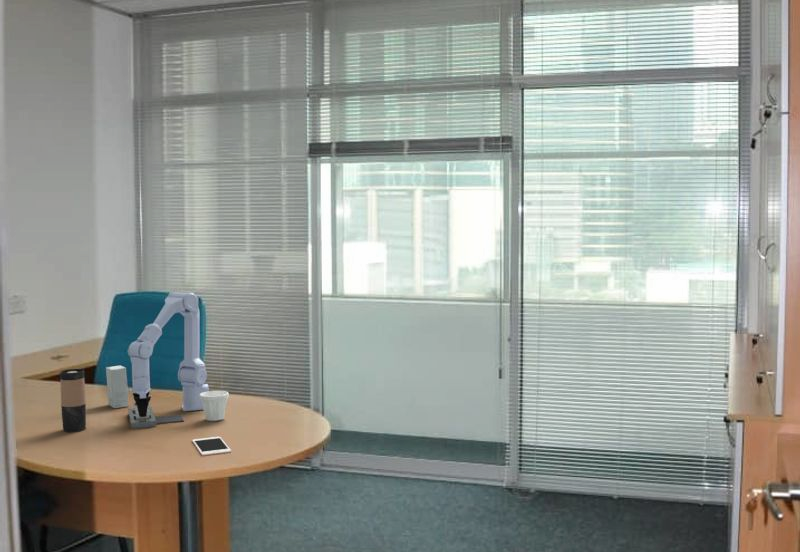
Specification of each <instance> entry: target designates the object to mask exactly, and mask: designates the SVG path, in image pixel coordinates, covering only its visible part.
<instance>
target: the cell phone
mask: <svg viewBox="0 0 800 552" xmlns="http://www.w3.org/2000/svg"><path fill="white" fill-rule="evenodd" d="M191 442H192V444H193V445H194V447H195V448H196V449H197V451H198V453H199V454H200V455H201V457H206V456H208V457H209V456H215V455H222V454H230V453H232V449H231V448H230V447H229V446H228V445H227V443H226V442H225V441H224V440H223V438H222V437H221V436H212V437H204V438H195V439H194V438H193V439H192V441H191Z"/></svg>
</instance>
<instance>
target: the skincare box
mask: <svg viewBox="0 0 800 552" xmlns="http://www.w3.org/2000/svg"><path fill="white" fill-rule="evenodd" d="M105 373H106V375H105V376H106V386H107V387H106V388H107V389H106V390H107V401H108V406H110V407H111V408H113V409H119V408H127V407H129V406H130V404H129V389H128V378H127V375H128V374H127V368H126V367H125V366H122V365H114V366H106V367H105Z"/></svg>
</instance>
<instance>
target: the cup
mask: <svg viewBox="0 0 800 552" xmlns="http://www.w3.org/2000/svg"><path fill="white" fill-rule="evenodd" d="M229 395H230V394H229V392H228V391H227V390H226V391H225V390H209V391H208V392H203V393H201V394H200V399H201V402H202V406H203V412H204V413H203V414H204V417H205V420H206V421H207V422H221V421H222V420H223V421H224V419H225V413H226V407H227V401H228V399H229Z"/></svg>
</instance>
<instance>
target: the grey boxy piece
mask: <svg viewBox="0 0 800 552" xmlns="http://www.w3.org/2000/svg"><path fill="white" fill-rule="evenodd" d="M133 406H134V408H135V418H136V420H140V419H150V418H149V407H151V402H150V401H149V404H148V408H147V415H146V417H140V416H139V412H138V407H137V404H136V402H135V401H133Z"/></svg>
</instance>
